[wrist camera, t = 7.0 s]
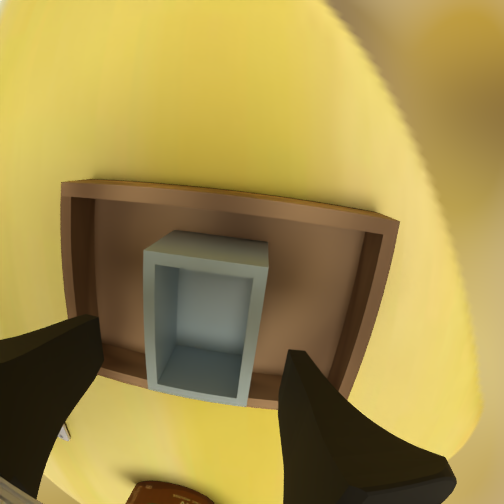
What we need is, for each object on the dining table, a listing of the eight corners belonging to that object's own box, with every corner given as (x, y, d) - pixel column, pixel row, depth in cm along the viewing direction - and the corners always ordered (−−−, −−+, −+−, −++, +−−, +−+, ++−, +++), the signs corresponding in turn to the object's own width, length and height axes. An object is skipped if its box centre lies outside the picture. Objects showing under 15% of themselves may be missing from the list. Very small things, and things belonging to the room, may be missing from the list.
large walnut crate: (98, 344, 18) (77, 368, 15) (91, 178, 15) (61, 182, 12) (333, 381, 18) (341, 412, 15) (377, 212, 15) (399, 221, 12)
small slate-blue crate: (250, 358, 17) (246, 407, 13) (170, 345, 17) (148, 389, 13) (268, 241, 15) (268, 267, 11) (174, 229, 15) (143, 250, 11)
